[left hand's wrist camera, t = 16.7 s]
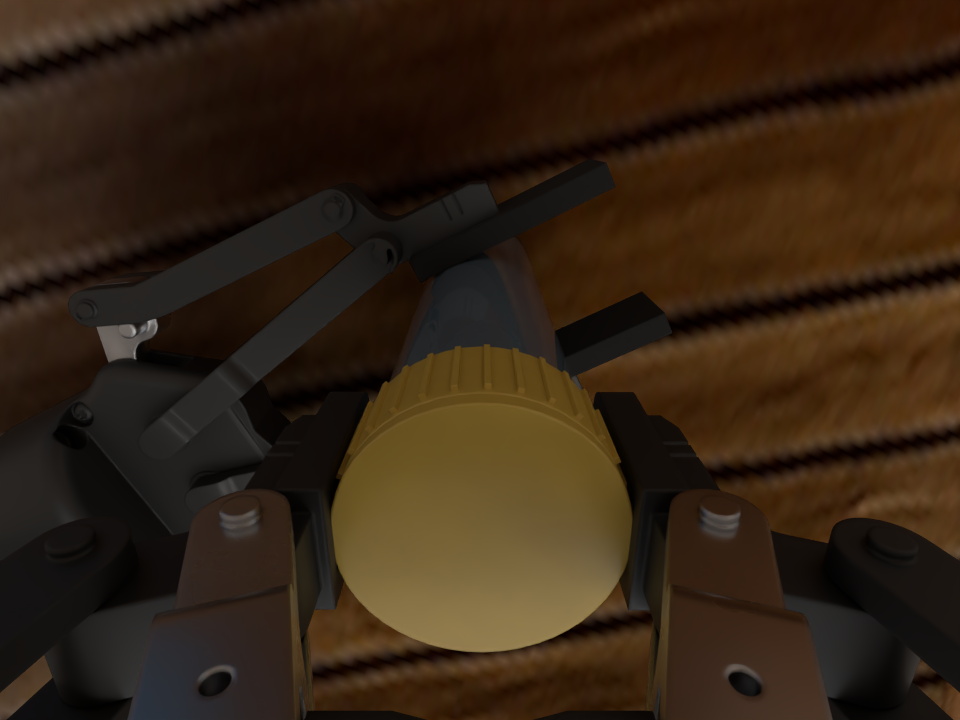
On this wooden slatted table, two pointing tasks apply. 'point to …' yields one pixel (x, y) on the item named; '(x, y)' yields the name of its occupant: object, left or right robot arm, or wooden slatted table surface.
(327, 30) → the wooden slatted table surface
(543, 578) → the lid
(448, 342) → the grey bottle
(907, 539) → the left robot arm
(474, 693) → the wooden slatted table surface
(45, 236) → the wooden slatted table surface
